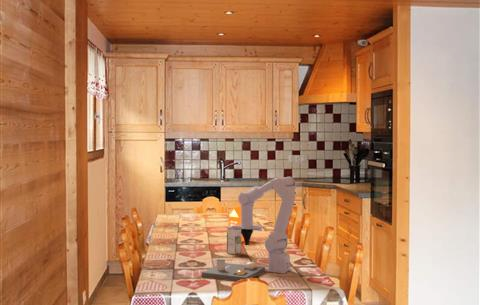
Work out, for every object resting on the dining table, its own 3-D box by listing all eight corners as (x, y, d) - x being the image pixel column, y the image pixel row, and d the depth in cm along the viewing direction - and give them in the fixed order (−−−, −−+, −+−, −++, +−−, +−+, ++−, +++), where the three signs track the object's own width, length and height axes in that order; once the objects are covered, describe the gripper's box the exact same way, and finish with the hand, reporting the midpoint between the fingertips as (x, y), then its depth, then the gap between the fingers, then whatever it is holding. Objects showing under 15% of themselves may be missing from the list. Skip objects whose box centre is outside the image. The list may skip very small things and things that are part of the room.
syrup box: (233, 251, 301) (233, 224, 300) (242, 252, 297) (241, 225, 296) (226, 253, 296) (226, 226, 296) (235, 254, 293) (234, 227, 292)
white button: (256, 268, 255) (256, 262, 255) (252, 270, 252) (252, 264, 252) (248, 267, 257) (248, 261, 257) (244, 269, 254) (244, 263, 254)
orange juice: (247, 239, 333) (247, 206, 332) (239, 242, 326) (238, 208, 325) (237, 238, 337) (237, 205, 337) (228, 240, 330) (228, 207, 330)
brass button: (246, 276, 247) (246, 270, 246) (242, 278, 243) (242, 272, 243) (238, 275, 248) (238, 269, 248) (234, 277, 245) (234, 271, 245)
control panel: (265, 271, 257) (265, 267, 257) (245, 282, 239) (245, 277, 239) (223, 266, 267) (223, 262, 267) (201, 276, 249) (201, 272, 249)
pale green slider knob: (225, 269, 252) (225, 259, 252) (223, 270, 251) (223, 260, 251) (218, 268, 254) (218, 258, 254) (216, 269, 252) (216, 259, 252)
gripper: (230, 217, 269) (230, 245, 270) (259, 218, 265) (259, 247, 266) (234, 215, 276) (234, 242, 277) (262, 216, 272) (263, 244, 273)
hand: (247, 244), depth 272 cm, fingers closed
